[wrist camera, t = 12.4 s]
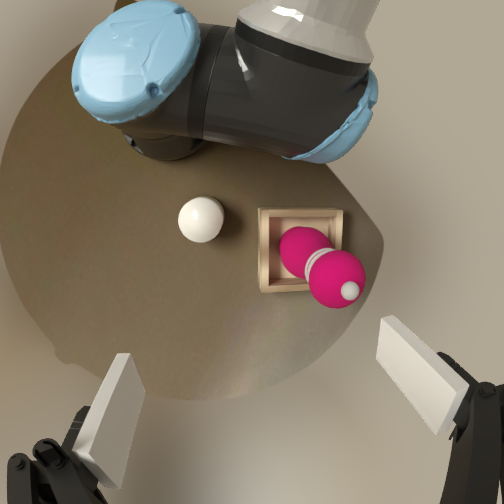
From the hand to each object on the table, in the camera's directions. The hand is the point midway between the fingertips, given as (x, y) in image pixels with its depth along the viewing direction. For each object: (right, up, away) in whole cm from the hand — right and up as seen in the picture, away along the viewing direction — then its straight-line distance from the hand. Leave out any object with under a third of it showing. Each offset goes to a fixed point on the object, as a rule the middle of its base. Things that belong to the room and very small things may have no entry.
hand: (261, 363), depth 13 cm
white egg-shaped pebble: (-8, +11, +28) cm, 31 cm away
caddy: (+6, +6, +31) cm, 32 cm away
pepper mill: (+7, +6, +30) cm, 32 cm away
